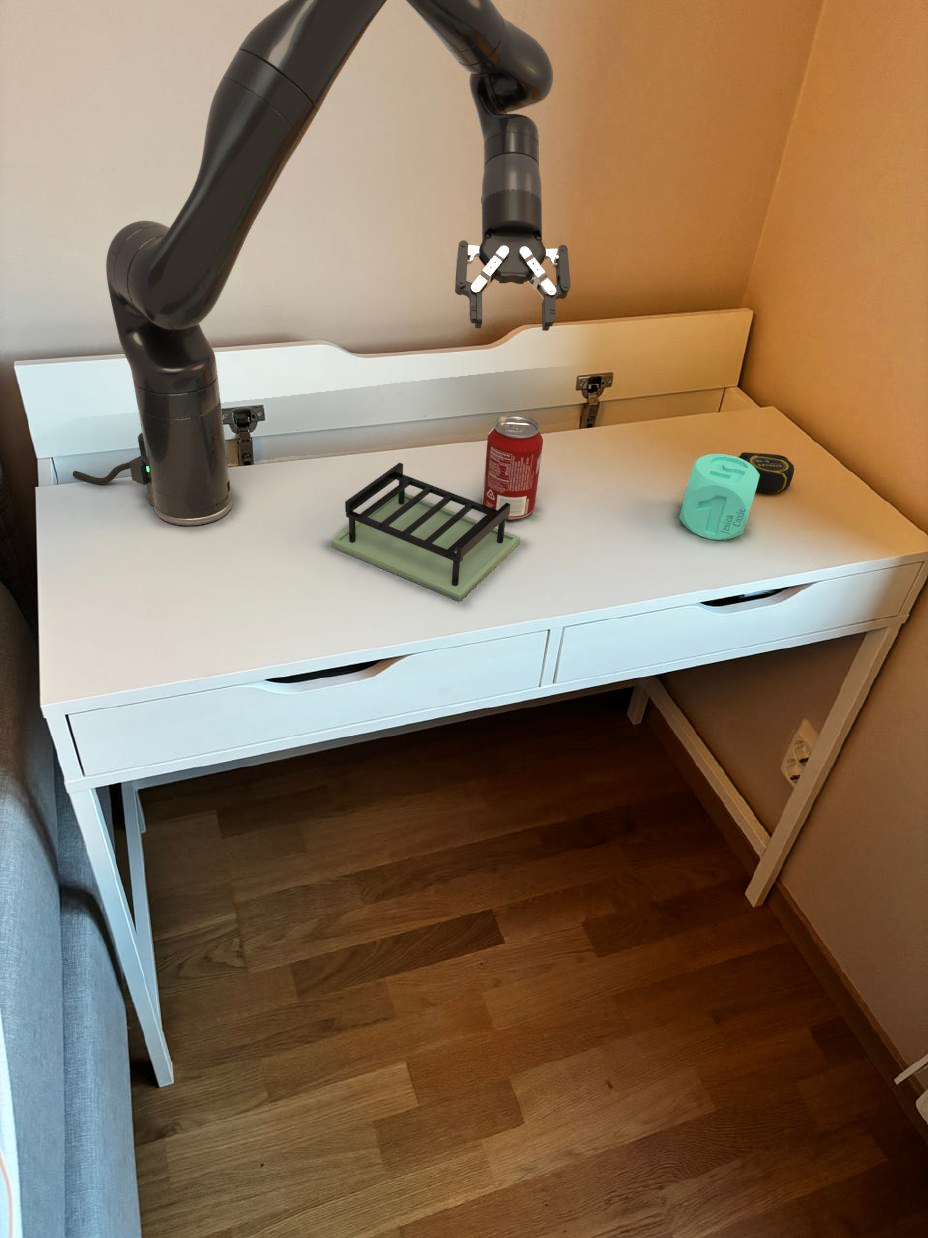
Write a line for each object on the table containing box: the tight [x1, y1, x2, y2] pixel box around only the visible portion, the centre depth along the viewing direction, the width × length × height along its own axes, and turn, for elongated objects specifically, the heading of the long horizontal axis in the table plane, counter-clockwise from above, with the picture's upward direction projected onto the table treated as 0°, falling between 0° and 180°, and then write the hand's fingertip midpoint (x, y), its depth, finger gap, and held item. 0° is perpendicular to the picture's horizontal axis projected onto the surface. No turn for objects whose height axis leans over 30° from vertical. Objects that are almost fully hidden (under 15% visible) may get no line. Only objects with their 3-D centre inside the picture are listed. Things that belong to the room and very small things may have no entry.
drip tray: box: [330, 492, 521, 603], centre depth 113 cm, size 18×14×1 cm
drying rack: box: [344, 462, 511, 586], centre depth 111 cm, size 16×11×6 cm
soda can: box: [481, 413, 544, 521], centre depth 117 cm, size 7×7×12 cm
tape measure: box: [737, 451, 795, 494], centre depth 128 cm, size 7×7×4 cm
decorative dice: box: [679, 453, 760, 541], centre depth 119 cm, size 8×8×8 cm
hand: (512, 327), depth 117 cm, fingers open, 8 cm apart
